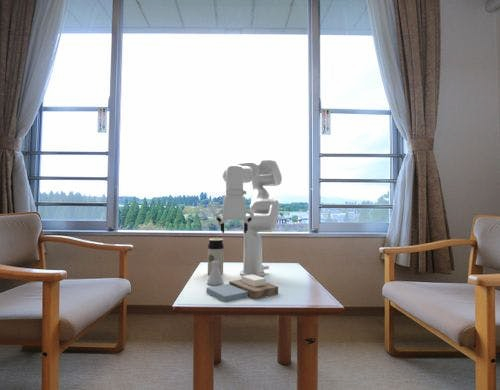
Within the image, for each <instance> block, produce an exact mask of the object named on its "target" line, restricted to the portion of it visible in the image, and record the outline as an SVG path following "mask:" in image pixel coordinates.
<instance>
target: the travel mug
mask: <svg viewBox="0 0 500 390" xmlns="http://www.w3.org/2000/svg"><path fill="white" fill-rule="evenodd" d="M208 241H209V243H208V244H207V274H208V275H209V276H210V274H211V271H212V267H213V263H212V262H213V261H218V262H219V271H220V274H221V275H223V274H224V244H223V241H224V238H220V237H211V238H209V239H208Z"/></svg>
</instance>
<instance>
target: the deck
mask: <svg viewBox="0 0 500 390" xmlns="http://www.w3.org/2000/svg"><path fill="white" fill-rule="evenodd" d="M228 284H230V285H233V286H235V287H237V288H240V289H242V290H245V291H247V292H248V297H247V298H251V299H253V300H258V299H259V300H260V299H263V298H267V297H272V296H276V295H279V286H277V285H274V284H271V283H268V282H266V285H261V286H255V287H254V286H251V285H249V284H246V283H243V282H242V278H241V279H237V280H235V279H234V280H230V281H229V282H228Z"/></svg>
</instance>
